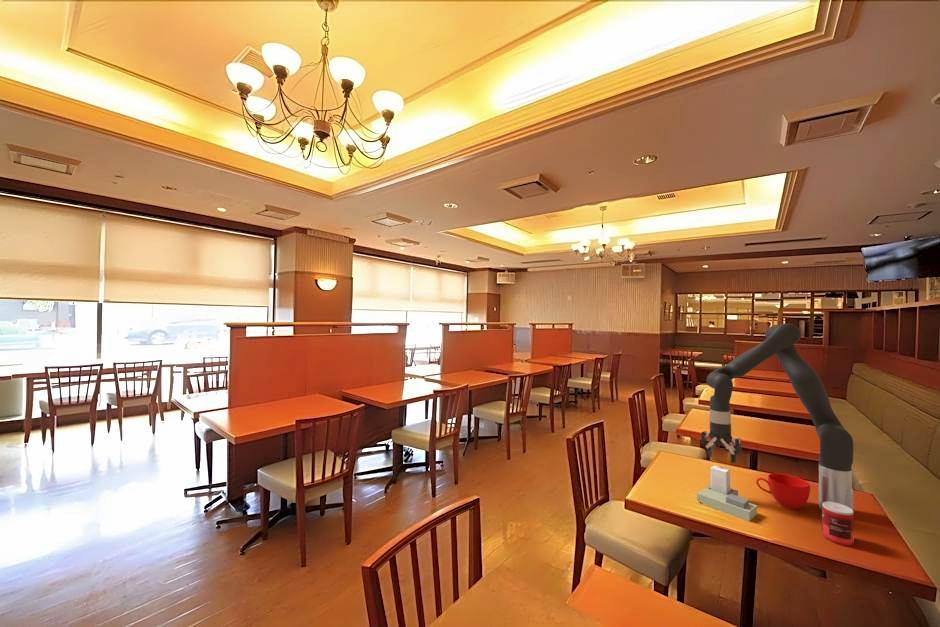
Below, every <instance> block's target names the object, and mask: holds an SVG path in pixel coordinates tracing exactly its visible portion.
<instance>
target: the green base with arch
mask: <svg viewBox="0 0 940 627" xmlns="http://www.w3.org/2000/svg"><path fill="white" fill-rule="evenodd" d="M697 501H698V502H701V503H703V504H702V505H704V504H705V505H704V506H706V505H708V506H707V507H709V506H710V507H709V508H712V507H713V508H712V509H714V510H717V509H718V510H717V511H720V512H723V513H725V514H728V515H731V516H734V517H736V518H739V519H742V520H745V521H746V522H751V521H752V520H753V519H754V518H755V517H756V516H757V515H758V505H757V504H754V503H751V502H750V500H749V499H748V498H746V497H742V496H739V490H737V489H734V488H731V487H730V494H728V495H725V494H722V493H719V492H716V491H713V490H711V484H710V485H708V486H707V487H705V488H703V489H702V490H700V491H699V492H697V493H696V502H697ZM698 502H697V503H698ZM701 503H700V504H701Z"/></svg>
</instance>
